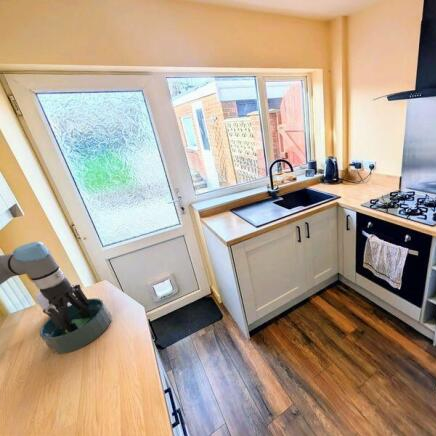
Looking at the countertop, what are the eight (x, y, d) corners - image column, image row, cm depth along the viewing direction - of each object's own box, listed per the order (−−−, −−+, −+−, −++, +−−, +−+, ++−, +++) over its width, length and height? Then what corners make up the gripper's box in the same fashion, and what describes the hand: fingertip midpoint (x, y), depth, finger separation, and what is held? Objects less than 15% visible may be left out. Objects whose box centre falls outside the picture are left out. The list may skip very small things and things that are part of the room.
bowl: (36, 356, 88) (23, 341, 85) (78, 314, 106) (69, 300, 102) (88, 352, 87) (78, 336, 84) (121, 310, 105) (114, 296, 102)
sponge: (68, 336, 94) (63, 328, 93) (78, 326, 98) (73, 319, 97) (86, 334, 94) (81, 327, 92) (94, 325, 98) (90, 317, 96)
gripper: (38, 300, 78) (75, 349, 88) (82, 266, 94) (109, 310, 104) (16, 303, 78) (55, 351, 88) (63, 268, 95) (92, 312, 105)
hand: (84, 329), depth 96 cm, fingers open, 5 cm apart
